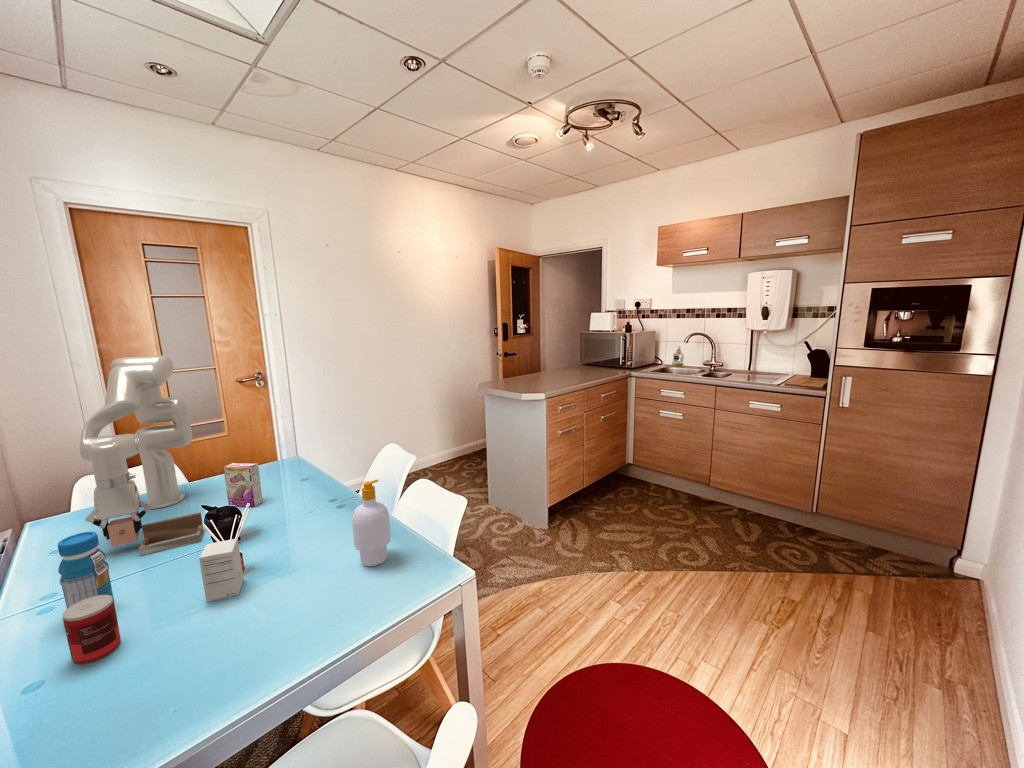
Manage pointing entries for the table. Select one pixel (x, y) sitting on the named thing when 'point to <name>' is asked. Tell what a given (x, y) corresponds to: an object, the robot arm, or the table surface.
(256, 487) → the candy bar box
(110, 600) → the canned food
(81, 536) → the beverage bottle
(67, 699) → the table surface
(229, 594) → the supplement box
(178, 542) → the board
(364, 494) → the soap bottle
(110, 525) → the salmon pink block
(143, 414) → the robot arm
